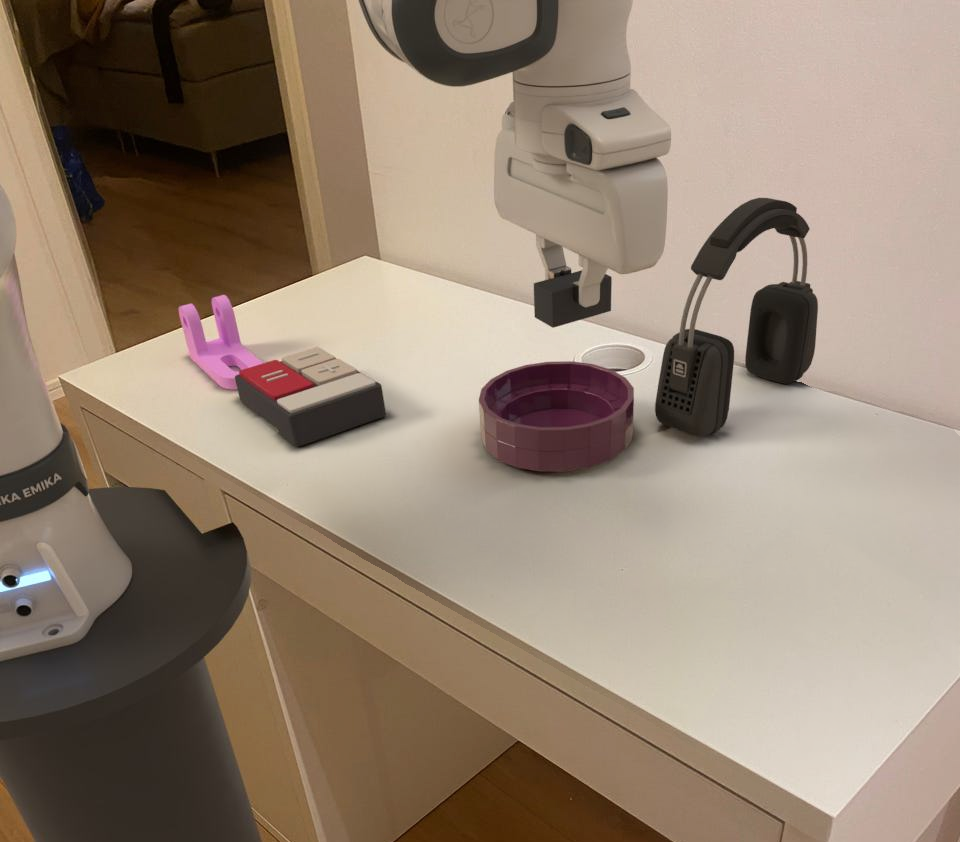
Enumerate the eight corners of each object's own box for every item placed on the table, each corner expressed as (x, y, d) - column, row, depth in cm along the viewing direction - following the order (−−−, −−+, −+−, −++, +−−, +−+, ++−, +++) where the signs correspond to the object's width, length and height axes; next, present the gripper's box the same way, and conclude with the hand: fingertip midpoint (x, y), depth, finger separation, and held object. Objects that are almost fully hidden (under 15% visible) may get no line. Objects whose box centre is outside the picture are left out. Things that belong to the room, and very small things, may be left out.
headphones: (698, 449, 98) (716, 241, 85) (646, 430, 101) (656, 228, 89) (817, 372, 109) (849, 178, 96) (767, 357, 113) (791, 169, 100)
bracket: (190, 358, 123) (176, 302, 118) (232, 346, 125) (219, 291, 120) (228, 394, 114) (214, 335, 110) (273, 380, 116) (261, 322, 112)
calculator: (319, 342, 115) (381, 377, 104) (326, 377, 117) (387, 415, 107) (231, 369, 110) (287, 409, 100) (240, 405, 113) (296, 448, 102)
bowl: (533, 493, 93) (531, 445, 90) (455, 431, 104) (452, 387, 100) (662, 447, 98) (665, 400, 95) (576, 392, 109) (577, 349, 106)
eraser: (552, 328, 84) (552, 293, 82) (534, 317, 86) (533, 282, 84) (611, 311, 86) (612, 276, 84) (591, 301, 88) (592, 267, 86)
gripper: (470, 103, 82) (481, 271, 91) (613, 149, 68) (609, 343, 77) (535, 91, 84) (539, 256, 93) (687, 133, 70) (674, 323, 79)
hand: (572, 296), depth 85 cm, fingers closed on eraser, 3 cm apart
